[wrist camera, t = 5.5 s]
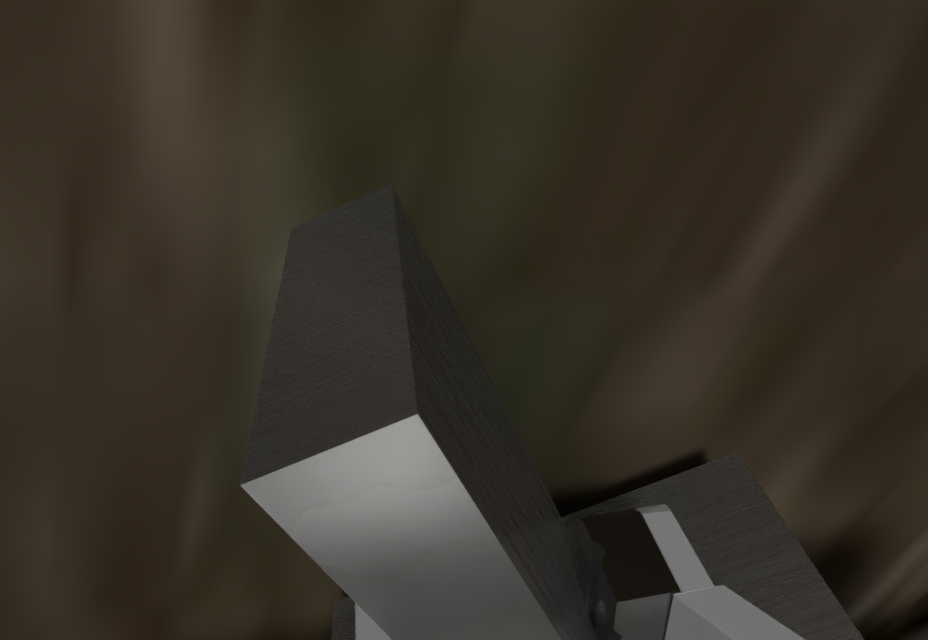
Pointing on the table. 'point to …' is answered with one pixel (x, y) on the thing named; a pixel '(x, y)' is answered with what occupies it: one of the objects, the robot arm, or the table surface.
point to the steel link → (456, 462)
